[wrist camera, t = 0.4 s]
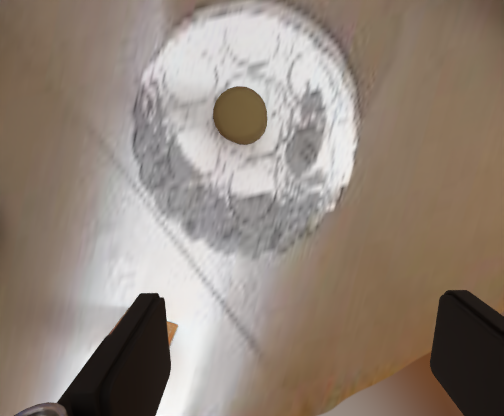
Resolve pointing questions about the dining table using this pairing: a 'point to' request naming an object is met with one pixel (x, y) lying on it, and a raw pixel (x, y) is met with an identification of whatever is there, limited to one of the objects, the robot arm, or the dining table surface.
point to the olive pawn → (240, 115)
